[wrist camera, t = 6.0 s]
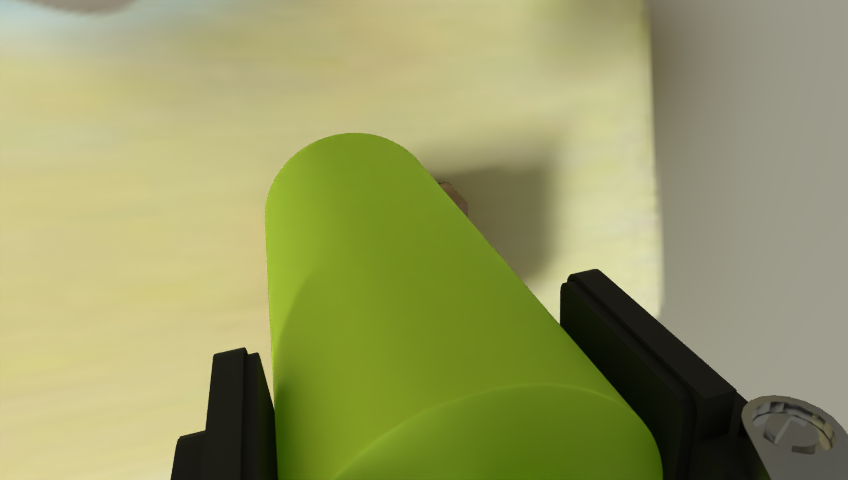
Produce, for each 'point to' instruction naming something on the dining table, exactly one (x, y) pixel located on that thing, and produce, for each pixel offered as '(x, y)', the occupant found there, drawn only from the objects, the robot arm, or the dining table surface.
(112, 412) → the dining table surface
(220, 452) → the robot arm
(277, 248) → the soap dispenser
